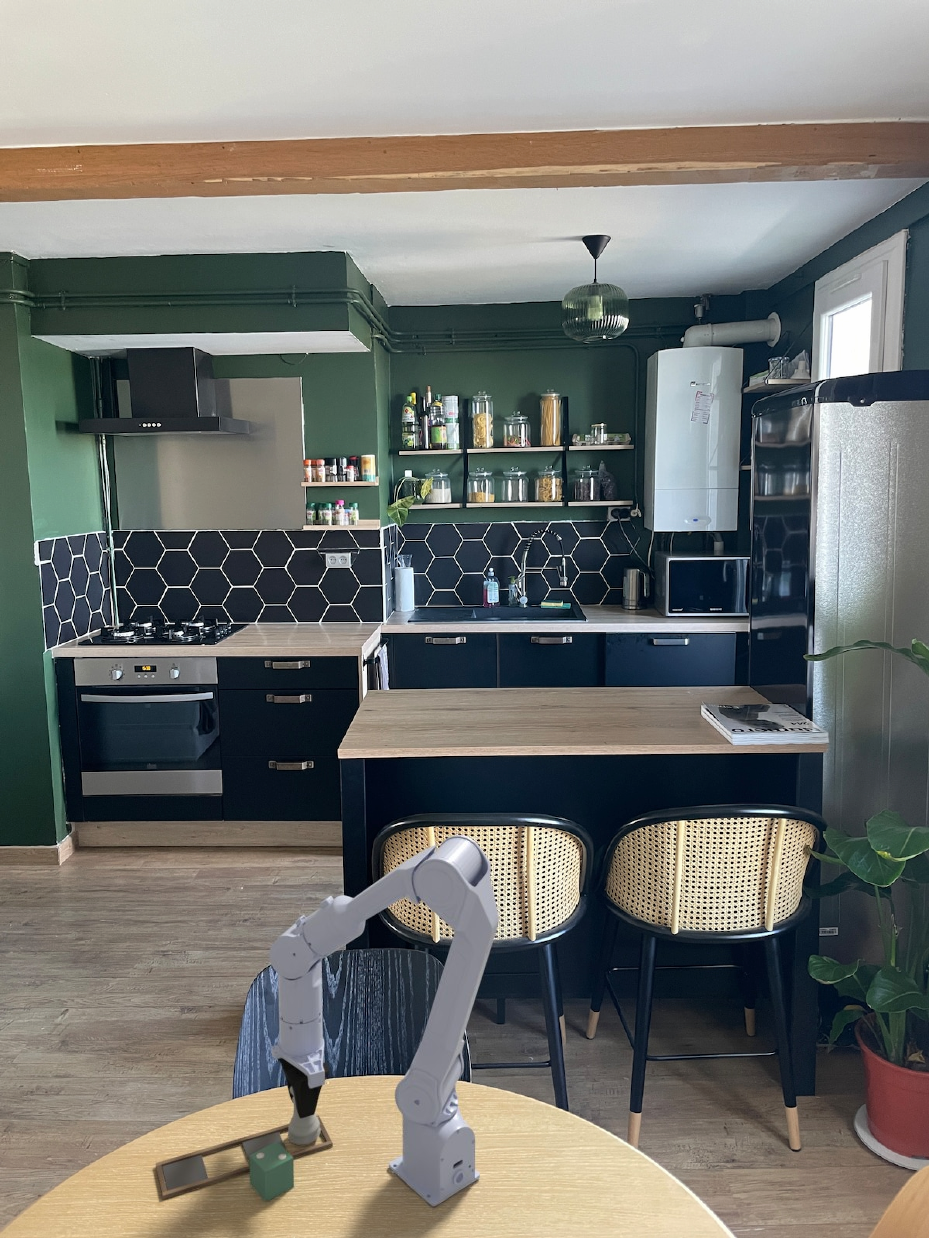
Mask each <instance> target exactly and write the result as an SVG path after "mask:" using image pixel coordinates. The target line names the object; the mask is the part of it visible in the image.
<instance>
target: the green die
mask: <svg viewBox="0 0 929 1238" xmlns="http://www.w3.org/2000/svg"><path fill="white" fill-rule="evenodd" d="M285 1148H286V1147H285ZM285 1148H284V1147H283V1146H282V1145H281V1144H280V1143H279V1142H278V1141H277V1142H275V1143H273V1144H271V1145H269V1146H267V1147H265V1148H263V1149H261V1150H259V1151H257V1152H255V1153H253V1154H251V1155H250V1164H249V1166H250V1172H249V1184H250V1186H251V1187H252V1188H253V1190H255V1192H256V1193H257V1194H258V1195H259V1197H260V1198H261V1199H262V1200H263V1201H264V1202H265V1203H267V1202H268V1201H271V1200H272V1199H275V1198H276V1197H278V1196H280V1195H281V1194H283V1193H286V1192H287V1191H289V1190H291V1189H293V1188H294V1187H295V1181H294V1180H295V1177H294V1176H295V1175H294V1174H295V1171H294V1169H295V1168H294V1166H295V1165H294V1159H293V1157H292V1156H291V1155H290V1154H289V1153H290V1152H288V1150H287V1148H286V1149H285ZM286 1150H287V1151H286Z"/></svg>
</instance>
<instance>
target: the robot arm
mask: <svg viewBox="0 0 929 1238" xmlns="http://www.w3.org/2000/svg"><path fill="white" fill-rule="evenodd" d="M437 846H438V844H436V843H435V845H431V846H429V847H428V848H425V849H424V850H423V851H421V852H419V853H417V854H415V855H414V856H412V857H410V858H409V859H407V860H405V861H404V862H402V863H401V864H399V865H398V866H396V867H395V868H394V869H392V870H391V871H389V873H387V874H386V875H384V876H383V877H381V878H380V879H378V880H377V881H376V882H374V883H373V884H372V885H370V886H368V887H367V888H366V889H364V890H363V891H362V892H360V893H359V894H357V895H356V896H354V897H351V896H347V895H341V894H340V895H338V896H336V897H334V898H333V896H332V895H329V896H328V897H326V898H324V899H323V900H322V901H321V902H320V903H319V906H320V908H318V909H316V911H314V912H312V913H311V914H309V915H307V916H306V915H305V914H303V915H301V916H299V918H298V919H295V923H293V924H292V925H291V926H290V927H289V928H287V930H286V931H284V932H283V933H282V934H281V935H279V936H278V937H277V939H275V941H274V942H273V943H272V945H270V948H269V954H268V955H269V956H268V957H269V962H270V965H271V966H272V968H273V970H274V971H275V972H276V973H277V976H278V977H277V979H278V981H277V984H278V987H277V988H278V1024H279V1026H278V1027H279V1040H278V1044H277V1045H274V1046H272V1047H271V1048H270V1053H271V1056H272V1058H273V1059H276V1060H278V1061H279V1063H280V1065H281V1068H282V1070H283V1074H284V1078H285V1081H286V1085H287V1086H286V1087H287V1089H288V1095H289V1098H290V1100H291V1101H292V1098H293V1097H295V1103H296V1109H297V1112H298V1115H299V1117H300V1118H305V1117H308V1116H311V1115H314V1114H315V1115H316V1110H317V1106H318V1101H319V1097H320V1093H321V1091H322V1088H323V1086H324V1085H325V1084H326V1079H327V1078H328V1076H329V1075H330V1066H329V1065H328V1063H327V1061H326V1062H324V1055H325V1054H324V1053H325V1052H324V1051H325V1039H324V1036H323V1035H324V1030H323V991H322V987H323V986H322V983H323V982H322V981H323V978H322V967H323V966H322V962H323V959H324V958H327V957H328V956H330V955H332V954H334V953H335V952H337V951H338V950H339V949H342V947H344V946H346V945H347V944H349V943H350V942H352V941H354V940H355V939H356V938H358V937H360V936H361V935H362V934H363V933H364V931H365V928H366V927H365V926H366V920H368V919H370V918H372V917H373V916H375V915H376V914H378V913H380V912H382V911H383V910H385V909H387V908H389V907H391V906H392V905H393V904H396V903H397V902H399V901H400V900H402V899H405V898H406V899H407V900H409V901H410V902H411V903H412V904H415V905H419V904H420V903H421V901H422V902H423V903H424V904H425V905H426V906H427V907H428V908H429V909H430V910H431V911H432V912H433V913H435V915H436V916H438V918H440V919H441V920H442V921H444V923H445V924H447V925H448V926H449V927H450V928H451V929H452V930H453V932H454V935H453V938H452V942H451V944H450V947H449V950H448V955H447V958H446V961H445V964H444V966H443V967H444V968H443V970H442V974H441V978H440V980H439V982H438V983H439V984H438V986H437V991H436V993H435V997H434V1000H433V1003H432V1007H431V1010H430V1013H429V1017H428V1020H427V1023H426V1026H425V1029H424V1032H423V1036H422V1039H421V1042H420V1044H419V1046H418V1048H417V1050H416V1053H415V1054H414V1057H413V1059H412V1062H411V1064H410V1067H409V1068H408V1070H407V1072H406V1073H405V1075H404V1076H403V1077H402V1079H400V1081H399V1082H398V1084H397V1085H396V1087H395V1091H394V1101H395V1104H396V1107H397V1108H398V1110H399V1112H400V1113H401V1116H402V1155H400V1156H399V1157H397V1158H395V1159H393V1160H391V1161H390V1162H389V1163H388V1167H389V1169H391V1171H392V1172H394V1173H395V1175H397V1176H398V1177H399V1178H400V1179H401V1180H402V1181H403V1182H404V1183H406V1184H407V1185H408V1186H409V1187H410V1189H412V1190H413V1191H414V1192H416V1193H417V1194H418V1195H419V1196H420V1197H421V1198H422V1199H423V1200H424V1201H426V1202H427V1203H428V1204H429V1205H430V1206H432V1207H436V1206H438V1205H440V1204H441V1203H442V1202H444V1201H445V1200H447V1199H449V1198H450V1197H452V1196H453V1195H455V1194H456V1193H458V1192H460V1191H461V1190H463V1189H464V1188H466V1187H467V1186H469V1185H471V1184H472V1183H474V1182H475V1181H477V1180H479V1179H480V1177H481V1173H480V1172H479V1171H478V1170H477V1169H476V1135H475V1131H474V1130H473V1129H472V1128H471V1127H470V1125H469V1124H468V1123H467V1122H466V1121H465V1119H464V1118H463V1115H462V1113H461V1111H460V1107H459V1099H458V1094H457V1089H456V1084H457V1083H458V1081H459V1080H460V1078H461V1077H462V1075H463V1073H464V1068H465V1064H464V1063H465V1062H464V1059H463V1057H464V1056H463V1049H464V1045H465V1040H464V1035H465V1032H466V1029H467V1025H468V1022H469V1019H470V1015H471V1012H472V1009H473V1007H474V1004H475V1001H476V997H477V993H478V990H479V987H480V984H481V981H482V977H483V974H484V971H485V968H486V966H487V962H488V959H489V956H490V952H491V949H492V946H493V942H494V940H495V937H496V933H497V930H498V927H499V922H500V918H499V911H498V908H497V907H498V906H497V903H496V899H495V893H494V888H493V884H492V879H491V868H492V866H491V865H492V863H491V861H490V860H489V858H488V857H487V855H486V853H485V852H484V851H483V849H482V848H481V846H480V845H479V844H478V843H477V842H476V841H475V840H474V839H473V838H471V837H469V836H466V835H462V834H455V835H451V836H448V837H447V838H446V839H444V840H443V841H442V842H441V844H440V846H439V847H438V848H437ZM291 1086H292V1089H293V1092H294V1096H293V1095H292V1094H291V1092H290V1087H291Z"/></svg>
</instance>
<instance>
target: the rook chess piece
mask: <svg viewBox="0 0 929 1238" xmlns="http://www.w3.org/2000/svg"><path fill="white" fill-rule="evenodd" d="M290 1092H291V1094H292V1095H293V1096H294V1092H293V1089H292V1086H291V1087H290ZM291 1102H292V1103H293V1112H292V1117H291V1118H290V1121H289V1123H288V1124H289V1127H288V1133H287V1137H288V1140H289V1141H290V1142H291V1143H293V1144H294V1145H297V1146H307V1145H309V1144H313V1143H314V1142H315V1141H316V1140H317V1139H318V1137H320V1134H321V1129H320V1122H319V1120H318V1118H317V1117H316V1116H317V1115H316V1113H315V1114H314V1115H311V1116H308V1117H305V1118H300V1117H299V1115H298V1112H297V1109H296V1103H295V1097H293V1098H292V1100H291Z"/></svg>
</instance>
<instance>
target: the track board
mask: <svg viewBox="0 0 929 1238" xmlns="http://www.w3.org/2000/svg"><path fill="white" fill-rule="evenodd" d="M316 1117H317V1118H318V1120H319V1122H320V1129H321V1132H320V1134H321V1136H322V1138H323V1140H324V1142H321V1143H319V1144H315V1145H312V1146H309V1147H306V1148H302V1149H299V1150H296V1151H295V1150H294V1151H293V1152H288V1150H287V1148H286V1146H285V1143H284V1141H283V1139H282V1137H281V1133H284V1132H287V1131H288V1127H289V1123H287V1124H285V1125H281V1126H277V1127H274V1128H271V1129H267V1130H264V1131H261V1132H256V1133H253V1134H251V1135H250V1134H249V1135H246V1136H244V1137H240V1138H236V1139H233V1140H230V1141H226V1142H223V1143H220V1144H219V1143H218V1144H216V1145H213V1146H209V1147H206V1148H203V1149H199V1150H196V1151H193V1152H188V1153H185V1154H182V1155H179V1156H175V1157H172V1158H169V1159H164V1160H162V1161H159V1162H156V1163H155V1169H156V1174H157V1177H158V1178H159V1179H158V1182H159V1186H160V1187H159V1188H160V1192H161V1196H162V1200H166V1199H169V1198H172V1197H176V1196H179V1195H182V1194H185V1193H188V1192H192V1191H195V1190H198V1189H201V1188H205V1187H207V1186H211V1185H213V1184H217V1183H220V1182H223V1181H227V1180H230V1179H234V1178H237V1177H239V1176H243V1175H246V1174H250V1155H251V1154H253V1153H255V1152H257V1151H259V1150H261V1149H263V1148H265V1147H267V1146H269V1145H271V1144H273V1143H275V1142H277V1141H278V1142H279V1143H280V1144H281V1145H282V1146H283V1147H284V1148H285V1149H286V1151H287V1152H288V1153H289V1154H290V1155H291V1156H292V1157H293V1160H295V1159H297V1158H300V1157H304V1156H307V1155H310V1154H313V1153H317V1152H319V1151H322V1150H323V1151H324V1150H325V1149H329V1148H332V1147H333V1143H334V1142H333V1141H332V1138H331V1137H330V1135H329V1133H328V1131H327V1128H326V1127H325V1125H324V1123H323V1122H322V1119H321V1117H320V1115H319V1114H318V1115H316ZM288 1132H289V1131H288ZM240 1145H242V1148H243V1150H244V1153H245V1156H246V1158H247V1162H248V1164H249V1165H247V1166H243V1167H240V1168H237V1169H234V1170H231V1171H228V1172H223V1173H221V1174H218V1175H215V1176H211V1177H209V1175H208V1173H207V1169H206V1166H205V1165H206V1164H205V1163H204V1158H203V1156H207V1155H210V1154H213V1153H214V1154H215V1153H216V1152H219V1151H223V1150H224V1151H225V1150H227V1149H231V1148H233V1147H236V1146H240ZM165 1182H166V1183H165Z"/></svg>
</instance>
